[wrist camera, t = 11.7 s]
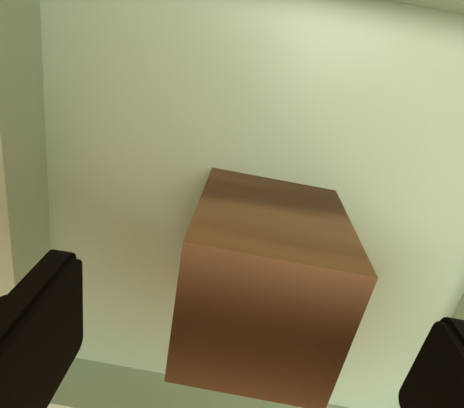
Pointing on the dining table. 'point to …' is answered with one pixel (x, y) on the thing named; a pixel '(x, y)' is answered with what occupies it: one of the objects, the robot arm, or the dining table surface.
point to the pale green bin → (230, 164)
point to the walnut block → (267, 291)
